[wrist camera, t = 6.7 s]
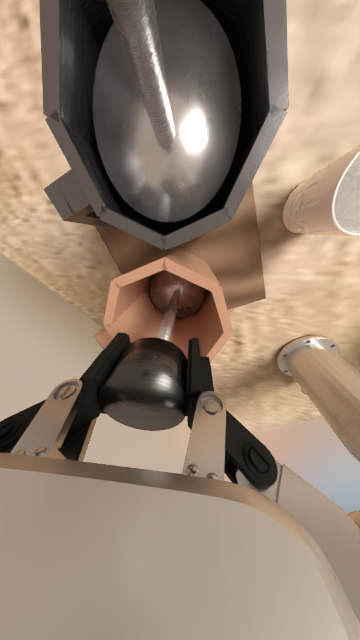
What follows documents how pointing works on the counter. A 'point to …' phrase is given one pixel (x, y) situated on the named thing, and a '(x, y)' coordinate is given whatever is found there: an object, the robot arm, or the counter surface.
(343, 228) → the white cup
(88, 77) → the dark grey faceted mug
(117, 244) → the walnut board
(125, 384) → the black knob metal plunger
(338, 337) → the counter surface
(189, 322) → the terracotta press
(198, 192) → the charcoal plunger
